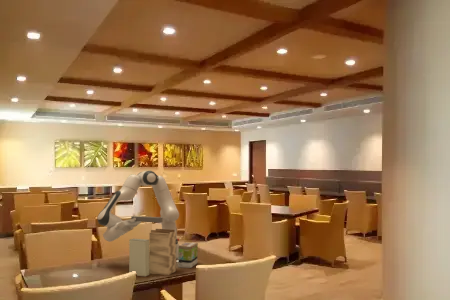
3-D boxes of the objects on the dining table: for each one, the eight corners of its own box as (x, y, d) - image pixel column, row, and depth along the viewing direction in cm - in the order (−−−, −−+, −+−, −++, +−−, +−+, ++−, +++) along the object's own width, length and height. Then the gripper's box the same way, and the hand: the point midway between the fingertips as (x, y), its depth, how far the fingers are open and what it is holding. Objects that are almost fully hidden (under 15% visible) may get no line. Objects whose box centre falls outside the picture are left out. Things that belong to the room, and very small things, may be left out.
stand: (157, 269, 273) (157, 228, 274) (175, 271, 268) (175, 229, 269) (149, 273, 264) (149, 230, 265) (168, 275, 259) (168, 231, 260)
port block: (133, 273, 264) (133, 238, 265) (149, 274, 260) (149, 239, 261) (129, 274, 260) (129, 239, 261) (145, 276, 256) (145, 240, 257)
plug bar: (133, 220, 277) (133, 216, 277) (162, 222, 269) (162, 217, 269) (131, 220, 275) (131, 216, 275) (160, 222, 266) (160, 218, 266)
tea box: (192, 268, 276) (191, 246, 277) (177, 267, 278) (177, 245, 279) (197, 263, 291) (197, 242, 292) (184, 262, 293) (184, 241, 294)
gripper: (111, 225, 270) (126, 215, 266) (129, 221, 289) (144, 212, 285) (115, 233, 268) (130, 224, 264) (133, 229, 287) (147, 220, 283)
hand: (137, 218), depth 275 cm, fingers closed on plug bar, 3 cm apart
